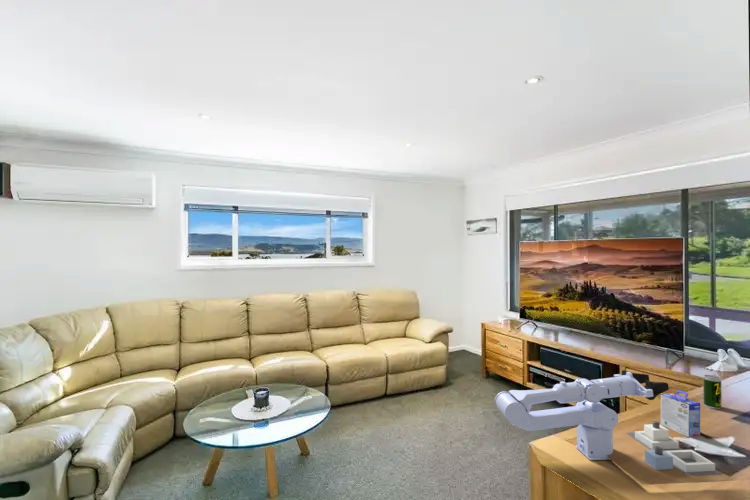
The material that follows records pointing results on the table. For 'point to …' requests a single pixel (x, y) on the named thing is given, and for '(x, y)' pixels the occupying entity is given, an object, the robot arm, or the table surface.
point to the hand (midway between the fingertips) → (657, 381)
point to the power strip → (679, 455)
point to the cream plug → (656, 432)
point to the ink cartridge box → (680, 414)
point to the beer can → (712, 391)
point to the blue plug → (658, 459)
